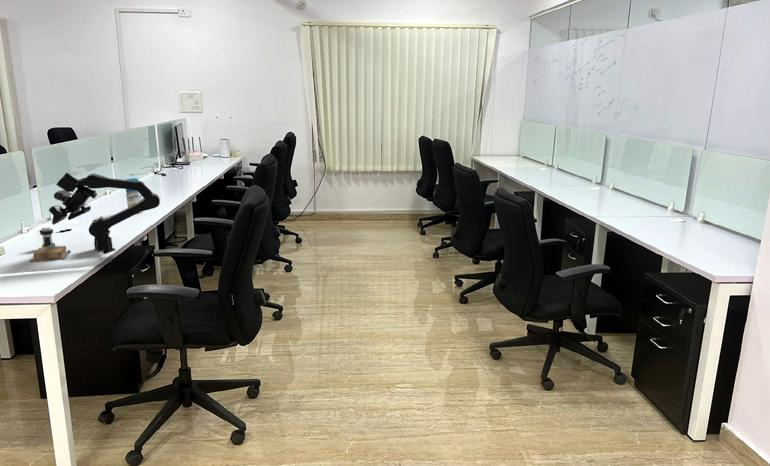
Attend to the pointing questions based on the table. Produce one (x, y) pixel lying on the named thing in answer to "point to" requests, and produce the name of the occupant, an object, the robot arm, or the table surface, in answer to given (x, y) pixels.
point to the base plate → (54, 259)
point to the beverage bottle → (133, 195)
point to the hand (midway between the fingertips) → (60, 221)
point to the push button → (47, 237)
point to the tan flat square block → (50, 253)
